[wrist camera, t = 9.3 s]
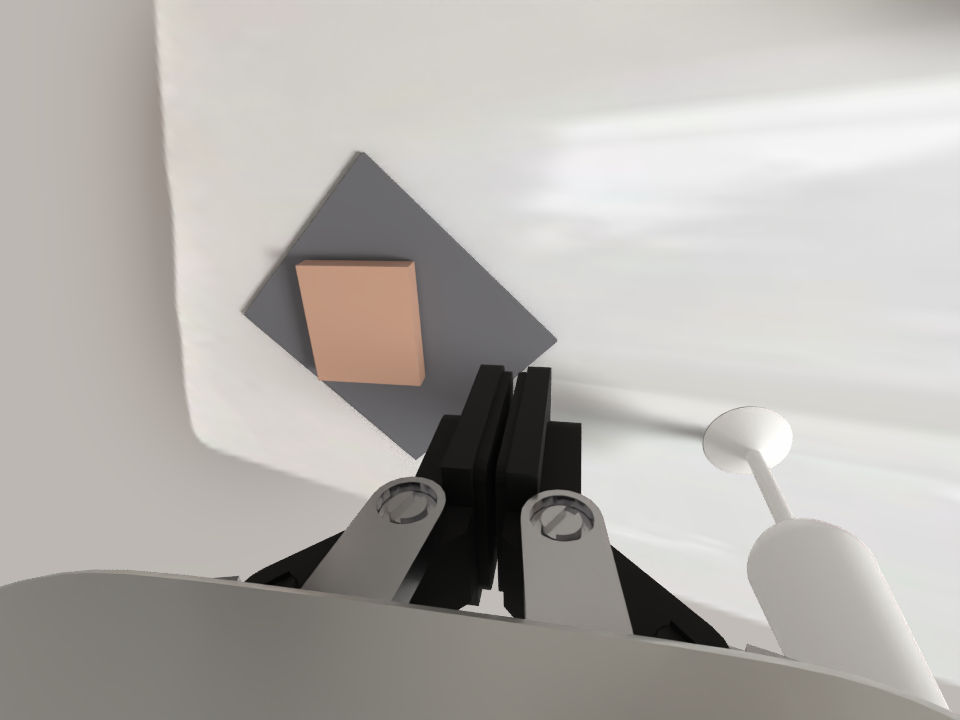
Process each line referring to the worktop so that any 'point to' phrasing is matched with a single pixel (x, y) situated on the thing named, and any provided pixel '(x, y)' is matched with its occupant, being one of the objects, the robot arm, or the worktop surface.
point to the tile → (363, 320)
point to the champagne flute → (817, 572)
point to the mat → (441, 297)
